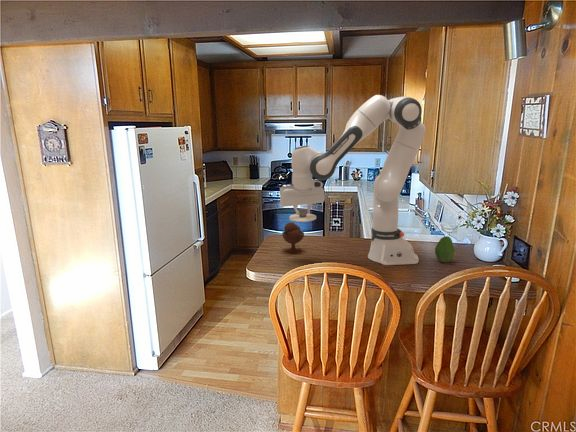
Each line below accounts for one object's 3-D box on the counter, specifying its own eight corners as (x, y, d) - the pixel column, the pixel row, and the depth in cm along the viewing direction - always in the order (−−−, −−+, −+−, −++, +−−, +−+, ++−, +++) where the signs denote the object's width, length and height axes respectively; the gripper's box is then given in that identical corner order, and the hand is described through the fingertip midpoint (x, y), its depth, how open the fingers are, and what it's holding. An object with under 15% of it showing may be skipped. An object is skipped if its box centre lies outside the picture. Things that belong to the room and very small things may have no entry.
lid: (317, 215, 170) (316, 206, 169) (315, 221, 159) (315, 212, 158) (291, 214, 172) (291, 206, 171) (287, 221, 160) (287, 212, 159)
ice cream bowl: (302, 255, 177) (302, 225, 173) (280, 254, 179) (279, 224, 175) (306, 248, 187) (305, 219, 183) (284, 247, 189) (283, 219, 186)
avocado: (453, 260, 167) (455, 234, 164) (453, 266, 160) (455, 239, 157) (434, 257, 171) (436, 233, 168) (433, 263, 164) (435, 238, 161)
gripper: (281, 186, 155) (282, 218, 159) (326, 182, 162) (326, 213, 165) (277, 184, 161) (278, 215, 165) (320, 180, 167) (320, 210, 171)
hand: (302, 214), depth 165 cm, fingers closed on lid, 3 cm apart
